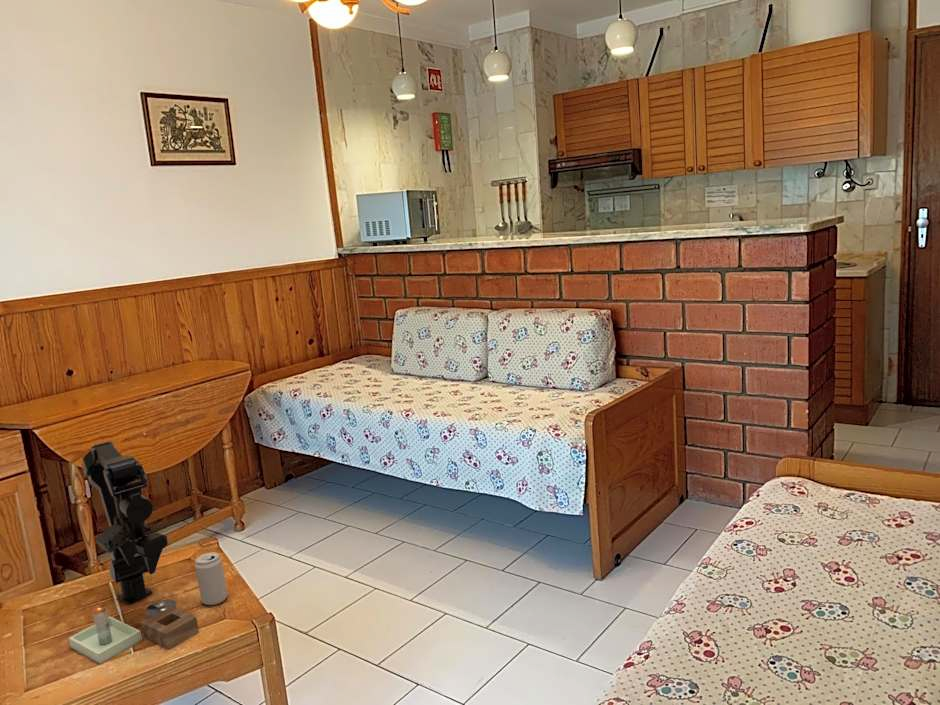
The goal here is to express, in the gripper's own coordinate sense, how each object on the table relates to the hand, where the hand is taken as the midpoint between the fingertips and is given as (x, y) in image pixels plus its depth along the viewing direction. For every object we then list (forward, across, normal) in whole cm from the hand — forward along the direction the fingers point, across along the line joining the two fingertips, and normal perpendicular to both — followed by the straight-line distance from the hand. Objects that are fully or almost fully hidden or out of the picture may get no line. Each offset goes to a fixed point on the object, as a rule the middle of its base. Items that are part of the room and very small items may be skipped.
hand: (141, 569), depth 182 cm
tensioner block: (+13, +12, -2) cm, 18 cm away
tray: (+13, +1, -12) cm, 18 cm away
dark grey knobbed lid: (+13, +2, +2) cm, 13 cm away
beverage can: (+13, +8, +13) cm, 20 cm away
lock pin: (+12, +1, -12) cm, 17 cm away
